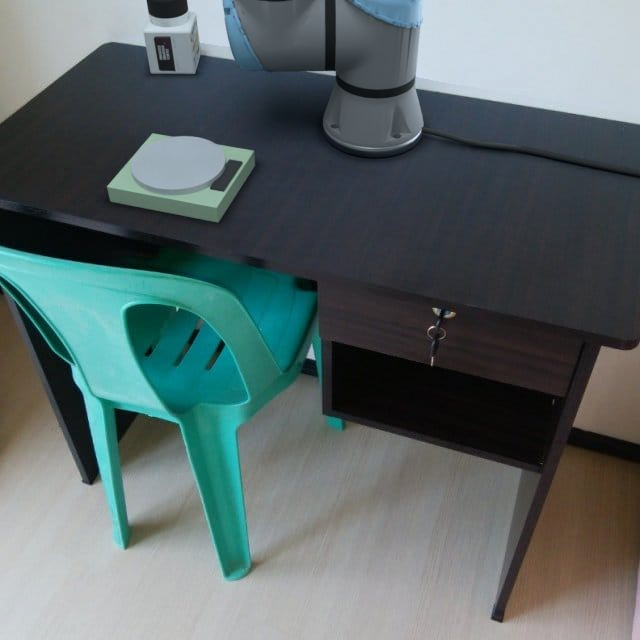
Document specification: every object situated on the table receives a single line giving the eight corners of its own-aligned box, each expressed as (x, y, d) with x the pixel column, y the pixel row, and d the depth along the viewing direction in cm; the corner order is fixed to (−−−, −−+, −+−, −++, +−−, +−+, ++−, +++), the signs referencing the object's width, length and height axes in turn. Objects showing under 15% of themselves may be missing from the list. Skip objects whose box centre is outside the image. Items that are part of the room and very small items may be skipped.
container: (195, 75, 128) (185, -2, 119) (150, 74, 128) (136, -2, 119) (201, 54, 133) (192, -21, 124) (158, 53, 133) (145, -22, 124)
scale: (255, 165, 109) (253, 144, 106) (218, 222, 100) (215, 201, 97) (155, 147, 112) (151, 127, 110) (110, 201, 103) (105, 180, 100)
